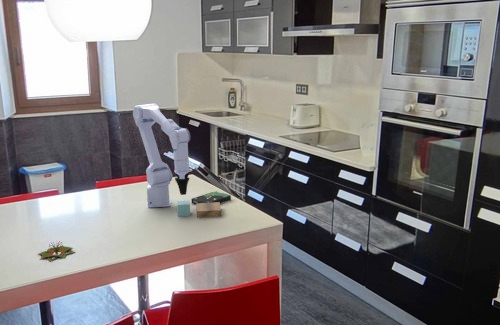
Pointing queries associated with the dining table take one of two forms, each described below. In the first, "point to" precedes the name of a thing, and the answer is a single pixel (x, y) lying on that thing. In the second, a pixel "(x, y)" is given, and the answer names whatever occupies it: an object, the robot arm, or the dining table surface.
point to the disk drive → (211, 198)
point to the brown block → (208, 209)
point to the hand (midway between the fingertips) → (183, 191)
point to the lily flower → (56, 251)
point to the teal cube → (183, 208)
